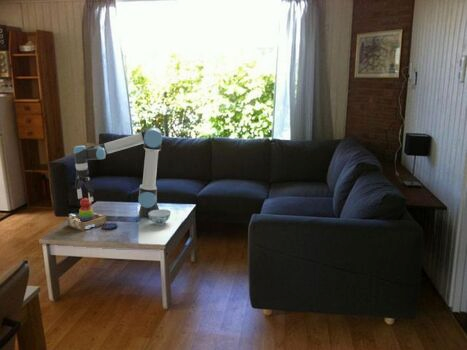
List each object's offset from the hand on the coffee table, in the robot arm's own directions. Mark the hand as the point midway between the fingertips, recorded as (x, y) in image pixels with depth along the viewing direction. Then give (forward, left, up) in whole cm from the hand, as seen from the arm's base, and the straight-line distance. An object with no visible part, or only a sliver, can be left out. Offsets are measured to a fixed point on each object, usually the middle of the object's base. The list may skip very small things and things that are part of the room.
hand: (85, 199), depth 281 cm
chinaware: (-38, -32, -18) cm, 52 cm away
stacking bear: (0, 0, -17) cm, 17 cm away
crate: (0, 0, -18) cm, 18 cm away
